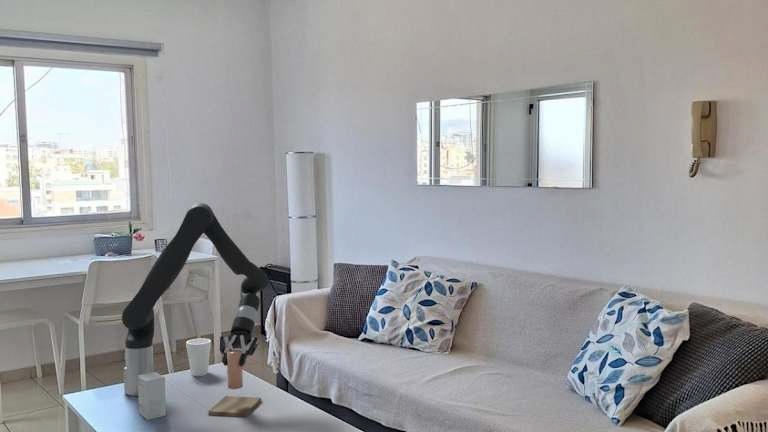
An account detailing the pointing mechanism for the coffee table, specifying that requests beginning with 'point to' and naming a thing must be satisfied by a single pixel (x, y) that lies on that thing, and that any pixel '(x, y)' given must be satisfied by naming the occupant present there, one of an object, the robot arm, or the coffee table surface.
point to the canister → (234, 369)
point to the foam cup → (198, 355)
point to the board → (235, 406)
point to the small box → (151, 395)
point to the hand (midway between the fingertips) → (232, 364)
